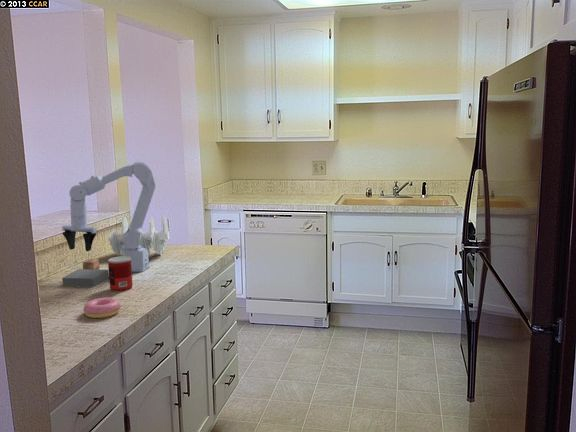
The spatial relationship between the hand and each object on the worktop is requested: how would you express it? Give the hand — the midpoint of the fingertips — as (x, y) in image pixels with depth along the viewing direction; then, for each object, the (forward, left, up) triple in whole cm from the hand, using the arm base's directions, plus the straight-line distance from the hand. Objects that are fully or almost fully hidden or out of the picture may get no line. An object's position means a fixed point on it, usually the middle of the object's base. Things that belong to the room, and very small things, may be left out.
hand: (80, 249), depth 203 cm
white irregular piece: (-12, -33, -10) cm, 36 cm away
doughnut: (-29, +41, -10) cm, 51 cm away
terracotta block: (-3, -3, -10) cm, 11 cm away
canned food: (-24, +16, -10) cm, 30 cm away
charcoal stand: (-7, +9, -10) cm, 15 cm away
